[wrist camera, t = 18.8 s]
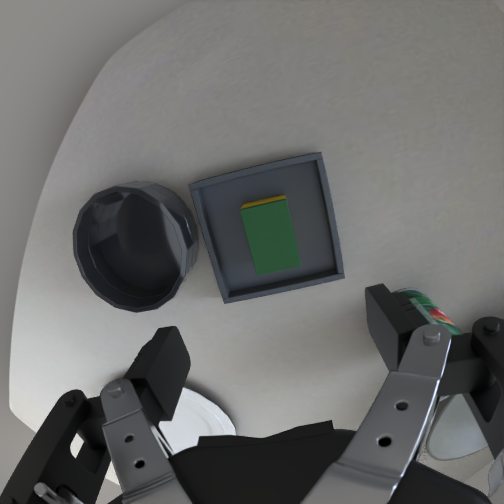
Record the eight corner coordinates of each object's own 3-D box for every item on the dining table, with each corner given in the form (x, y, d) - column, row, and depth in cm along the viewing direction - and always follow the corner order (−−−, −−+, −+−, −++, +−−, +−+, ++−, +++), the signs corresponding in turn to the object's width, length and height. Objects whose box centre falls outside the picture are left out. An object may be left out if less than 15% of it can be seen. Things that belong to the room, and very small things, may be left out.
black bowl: (85, 200, 29) (58, 209, 24) (180, 166, 28) (163, 168, 23) (119, 298, 33) (99, 318, 28) (213, 279, 31) (203, 301, 26)
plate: (106, 427, 41) (102, 434, 39) (110, 346, 35) (104, 354, 33) (216, 467, 42) (215, 475, 41) (258, 400, 36) (258, 410, 34)
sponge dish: (193, 182, 28) (188, 184, 26) (317, 152, 27) (321, 152, 25) (226, 295, 32) (224, 304, 30) (340, 271, 30) (344, 278, 28)
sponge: (242, 204, 28) (239, 210, 25) (284, 194, 28) (286, 199, 24) (258, 262, 30) (256, 276, 26) (297, 253, 29) (301, 266, 26)
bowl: (554, 301, 30) (581, 321, 22) (485, 421, 38) (500, 447, 31) (465, 280, 30) (503, 310, 22) (382, 434, 38) (394, 472, 30)
